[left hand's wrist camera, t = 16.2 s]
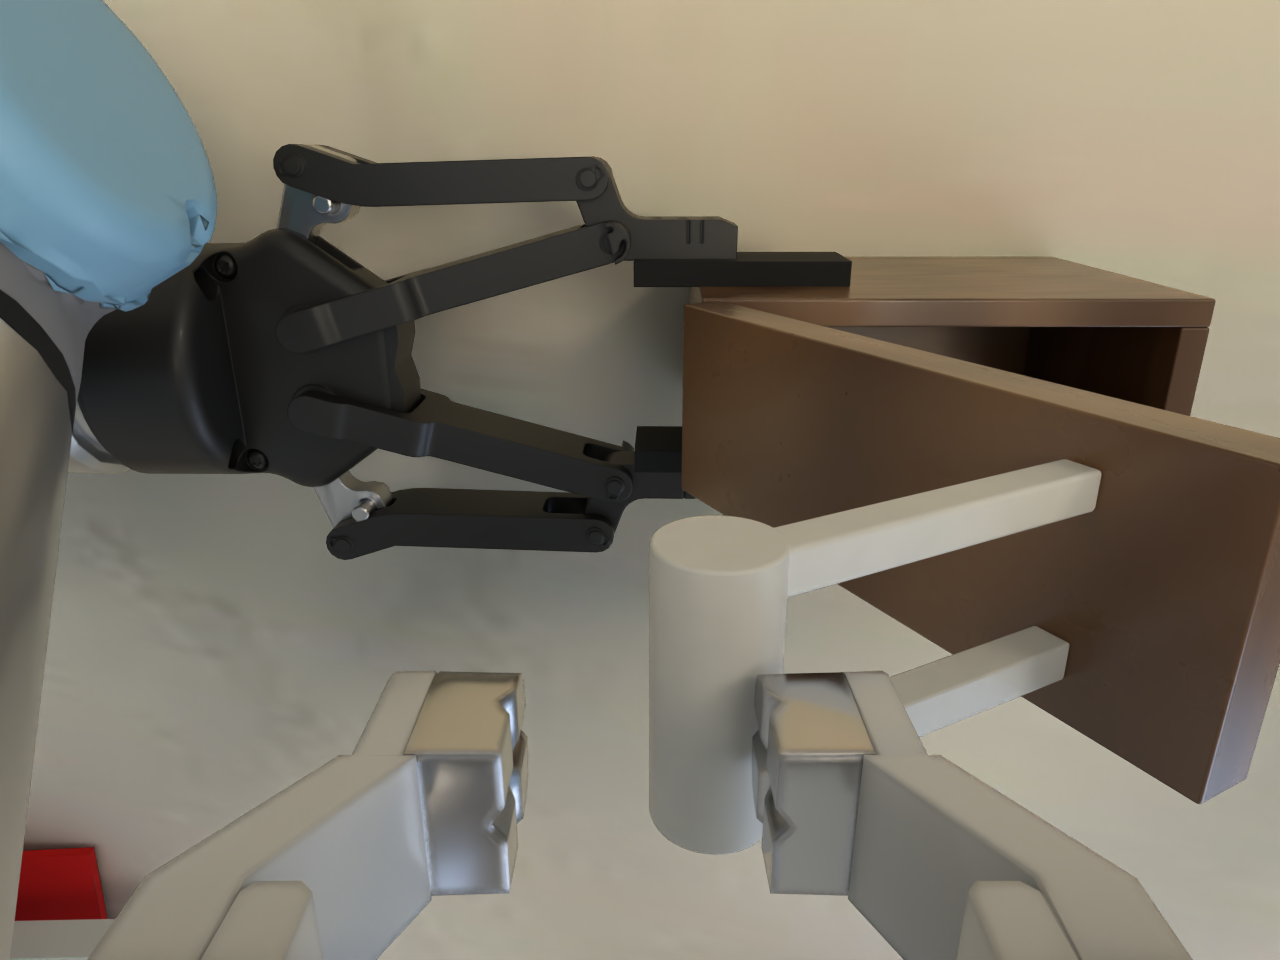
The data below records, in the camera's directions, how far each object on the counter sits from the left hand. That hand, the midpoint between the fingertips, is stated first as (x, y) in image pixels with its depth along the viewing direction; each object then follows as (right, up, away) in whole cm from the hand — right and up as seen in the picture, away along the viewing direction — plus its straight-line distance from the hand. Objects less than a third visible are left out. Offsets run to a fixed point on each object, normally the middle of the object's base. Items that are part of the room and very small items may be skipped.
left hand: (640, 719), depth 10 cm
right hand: (+6, +7, +18) cm, 20 cm away
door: (+6, +3, +8) cm, 10 cm away
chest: (+9, +9, +24) cm, 27 cm away
